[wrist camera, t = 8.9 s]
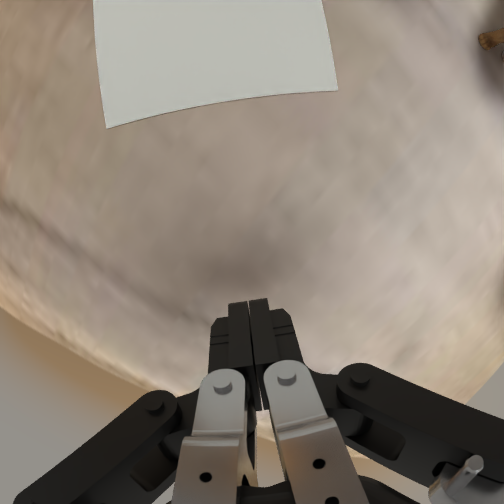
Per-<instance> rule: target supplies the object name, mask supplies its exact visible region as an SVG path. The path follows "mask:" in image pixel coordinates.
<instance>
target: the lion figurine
mask: <svg viewBox="0 0 504 504" xmlns="http://www.w3.org/2000/svg"><path fill="white" fill-rule="evenodd" d="M479 42H480V44H481V46H482V47H483V48H484V49H486V50H490V49H491V47H495V46H496V45H498V44H499V43H504V28H502V29H499V30H496V31H492V32H488V33H483V34H480V35H479ZM502 59H503V62H504V51H503V54H502Z"/></svg>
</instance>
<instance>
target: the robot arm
mask: <svg viewBox="0 0 504 504" xmlns="http://www.w3.org/2000/svg"><path fill="white" fill-rule="evenodd" d="M249 310H250V314H249ZM210 337H211V338H210V349H209V365H208V375H207V376H206V377H204V379H203V380H202V382H201V385H200V388H199V389H197V390H196V391H194V392H192V393H189V394H186V395H183V396H180V397H177V398H175V396H174V395H173V394H172V393H170V392H168V391H164V390H155V391H151V392H149V393H146V394H145V395H143V396H142V397H141V398H139V399H138V400H137V401H136V402H135V403H133V404H132V405H131V406H130V407H129V408H127V409H126V410H125V411H124V412H123V413H121V414H120V415H119V416H118V417H117V418H115V419H114V420H113V421H112V422H110V423H109V424H108V425H107V426H105V427H104V428H103V429H102V430H101V431H100V432H98V433H97V434H96V435H94V436H93V437H92V438H91V439H89V440H88V441H87V442H86V443H84V444H83V445H82V446H81V447H79V448H78V449H77V450H76V451H74V452H73V453H72V454H71V455H69V456H68V457H67V458H65V459H64V460H63V461H61V462H60V463H59V464H58V465H56V466H55V467H54V468H52V469H51V470H50V471H48V472H47V473H46V474H44V475H43V476H42V477H40V478H39V479H38V480H37V481H35V482H34V483H32V484H31V485H30V486H28V487H27V488H26V489H24V490H23V491H22V492H21V493H19V494H18V495H17V496H16V498H15V500H14V502H13V504H152V503H153V502H154V501H155V500H156V499H157V498H158V497H159V496H160V495H161V494H162V493H163V492H164V491H165V490H167V489H168V488H169V487H170V486H171V485H172V484H173V483H174V482H175V484H174V490H173V496H172V500H171V501H169V502H168V503H166V504H420V503H418V502H416V501H414V500H412V499H410V498H409V497H407V496H405V495H403V494H401V493H399V492H397V491H396V490H394V489H392V488H390V487H388V486H387V485H385V484H383V483H381V482H379V481H377V480H375V479H372V478H369V477H365V476H360V475H358V474H357V472H356V470H355V467H354V465H353V462H352V460H351V458H350V455H349V453H348V450H347V448H346V445H347V446H349V447H350V448H352V449H354V450H356V451H357V452H359V453H361V454H363V455H365V456H366V457H368V458H370V459H372V460H374V461H376V462H377V463H379V464H381V465H383V466H385V467H387V468H389V469H391V470H393V471H395V472H397V473H399V474H401V475H403V476H405V477H407V478H409V479H411V480H413V481H415V482H418V483H419V484H422V485H424V486H426V487H428V488H429V491H428V496H429V499H430V502H431V503H432V504H504V420H503V419H501V418H498V417H495V416H493V415H490V414H487V413H485V412H482V411H479V410H477V409H474V408H472V407H469V406H467V405H464V404H462V403H459V402H457V401H454V400H452V399H449V398H447V397H444V396H442V395H439V394H437V393H435V392H432V391H430V390H427V389H425V388H423V387H420V386H418V385H416V384H413V383H411V382H409V381H406V380H404V379H402V378H400V377H397V376H395V375H393V374H390V373H388V372H386V371H384V370H381V369H379V368H377V367H375V366H373V365H370V364H366V363H355V364H351V365H348V366H346V367H345V368H343V369H342V370H341V371H340V372H339V374H338V375H332V374H321V373H317V372H314V371H312V370H311V369H309V368H308V367H307V366H306V365H305V363H304V361H303V358H302V355H301V351H300V348H299V344H298V341H297V337H296V334H295V330H294V327H293V323H292V320H291V316H290V315H289V314H288V313H287V312H286V311H285V310H284V309H283V308H282V309H276V310H269V305H268V300H267V298H263V299H257V300H250V301H249V308H248V303H247V301H244V302H237V303H230V304H229V305H228V317H222V318H217V319H216V320H215V322H214V323H213V325H212V326H211V335H210ZM260 392H261V396H260ZM261 397H262V402H263V407H264V410H268V409H269V412H270V418H271V423H272V429H273V433H274V437H275V441H276V445H277V449H278V454H279V458H280V461H281V466H282V469H283V474H284V479H285V481H284V482H281V483H278V484H276V485H273V486H270V487H265V488H264V487H258V480H257V428H256V425H257V419H256V411H261V410H262V404H261Z"/></svg>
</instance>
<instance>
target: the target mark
mask: <svg viewBox="0 0 504 504" xmlns="http://www.w3.org/2000/svg"><path fill="white" fill-rule="evenodd" d="M93 11H94V30H95V43H96V55H97V65H98V74H99V82H100V90H101V97H102V104H103V111H104V117H105V123H106V129H109V128H112V127H115V126H119V125H122V124H126V123H129V122H133V121H137V120H140V119H144V118H148V117H152V116H156V115H160V114H165V113H169V112H174V111H178V110H183V109H188V108H193V107H198V106H203V105H209V104H214V103H220V102H226V101H233V100H239V99H247V98H254V97H262V96H271V95H281V94H292V93H306V92H323V91H338V86H337V79H336V73H335V67H334V61H333V55H332V49H331V44H330V39H329V33H328V28H327V24H326V19H325V14H324V10H323V5H322V1H321V0H93Z"/></svg>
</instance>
